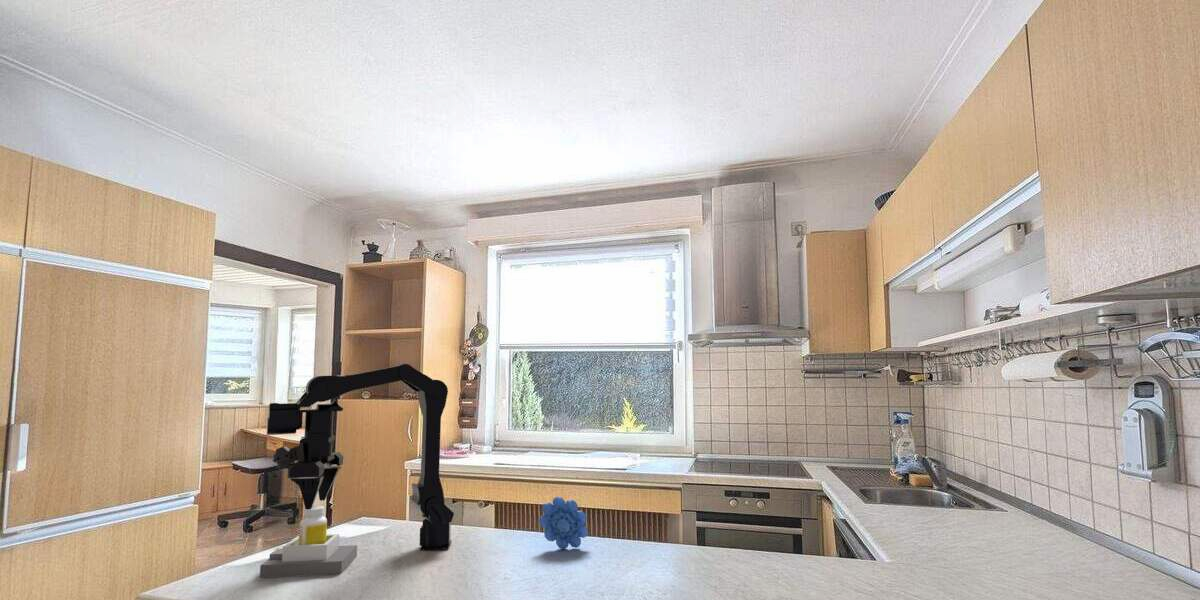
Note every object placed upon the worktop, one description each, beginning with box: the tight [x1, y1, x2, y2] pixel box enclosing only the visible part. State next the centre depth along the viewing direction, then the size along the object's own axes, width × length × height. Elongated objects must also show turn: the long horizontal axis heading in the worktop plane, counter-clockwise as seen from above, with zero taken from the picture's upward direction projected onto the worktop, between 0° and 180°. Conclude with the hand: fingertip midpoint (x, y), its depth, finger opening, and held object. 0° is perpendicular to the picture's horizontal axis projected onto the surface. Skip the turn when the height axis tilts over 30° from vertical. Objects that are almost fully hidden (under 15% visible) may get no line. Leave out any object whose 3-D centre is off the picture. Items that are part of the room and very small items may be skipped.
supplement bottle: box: [298, 505, 328, 545], centre depth 131 cm, size 5×5×10 cm
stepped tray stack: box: [259, 533, 358, 579], centre depth 131 cm, size 16×12×6 cm
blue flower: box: [538, 495, 589, 550], centre depth 141 cm, size 12×7×12 cm, turn 92°
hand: (315, 504), depth 132 cm, fingers open, 9 cm apart
